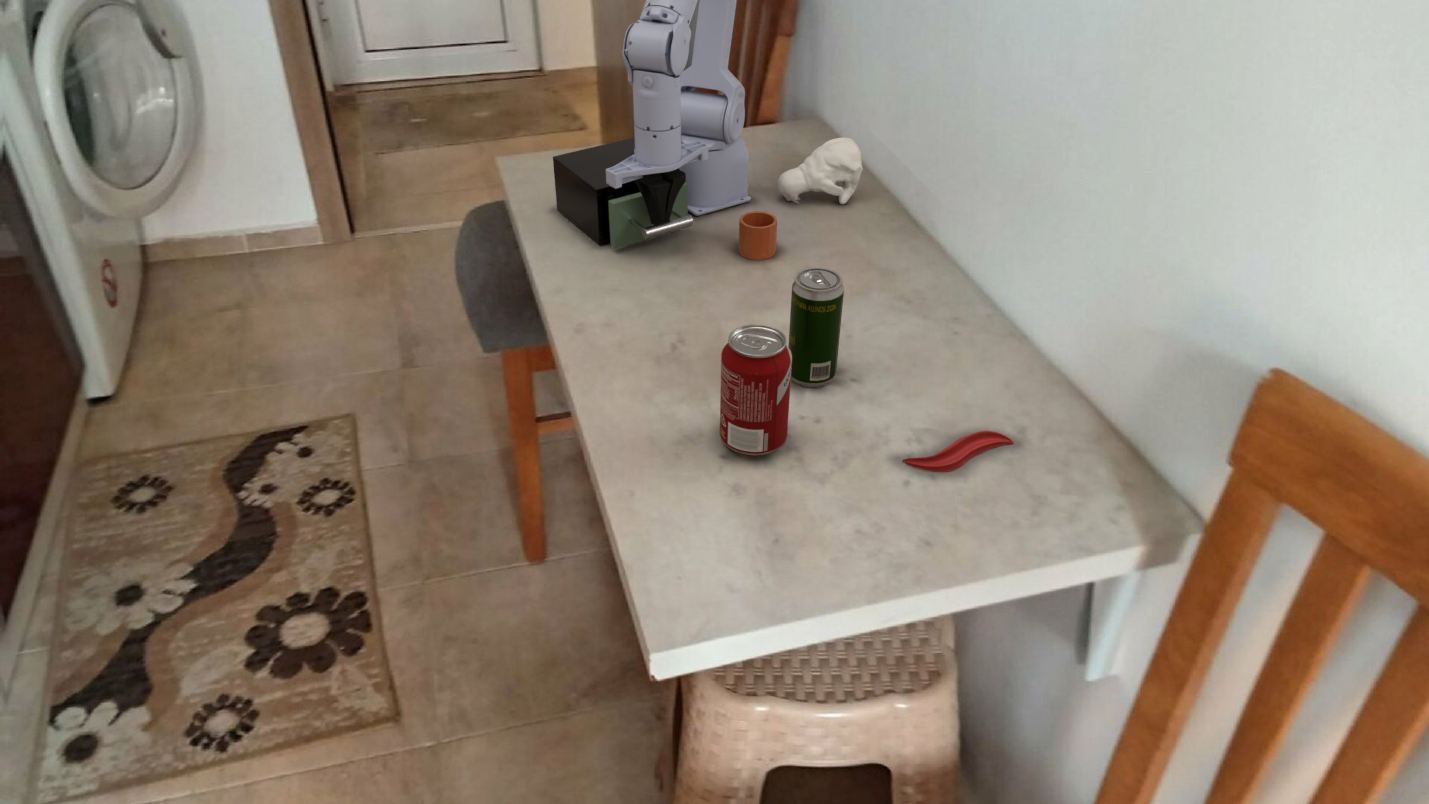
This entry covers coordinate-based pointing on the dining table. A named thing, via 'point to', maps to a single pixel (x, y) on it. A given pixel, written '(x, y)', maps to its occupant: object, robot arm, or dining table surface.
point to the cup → (757, 235)
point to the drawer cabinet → (588, 184)
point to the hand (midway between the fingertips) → (659, 224)
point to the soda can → (755, 390)
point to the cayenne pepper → (960, 451)
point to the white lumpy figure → (825, 171)
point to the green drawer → (639, 216)
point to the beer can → (815, 326)
